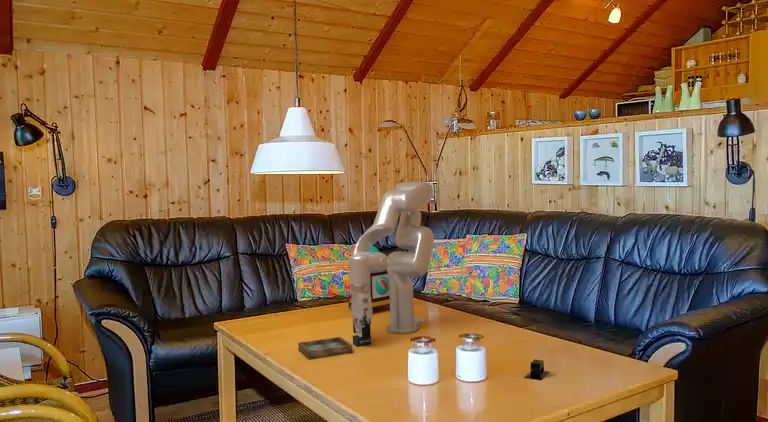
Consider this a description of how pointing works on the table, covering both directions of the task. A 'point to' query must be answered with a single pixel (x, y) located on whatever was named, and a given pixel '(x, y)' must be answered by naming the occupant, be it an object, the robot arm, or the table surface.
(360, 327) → the watch
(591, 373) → the table surface
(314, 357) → the watch tray
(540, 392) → the table surface
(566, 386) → the table surface
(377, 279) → the decorative lantern
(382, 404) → the table surface
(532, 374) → the black block
